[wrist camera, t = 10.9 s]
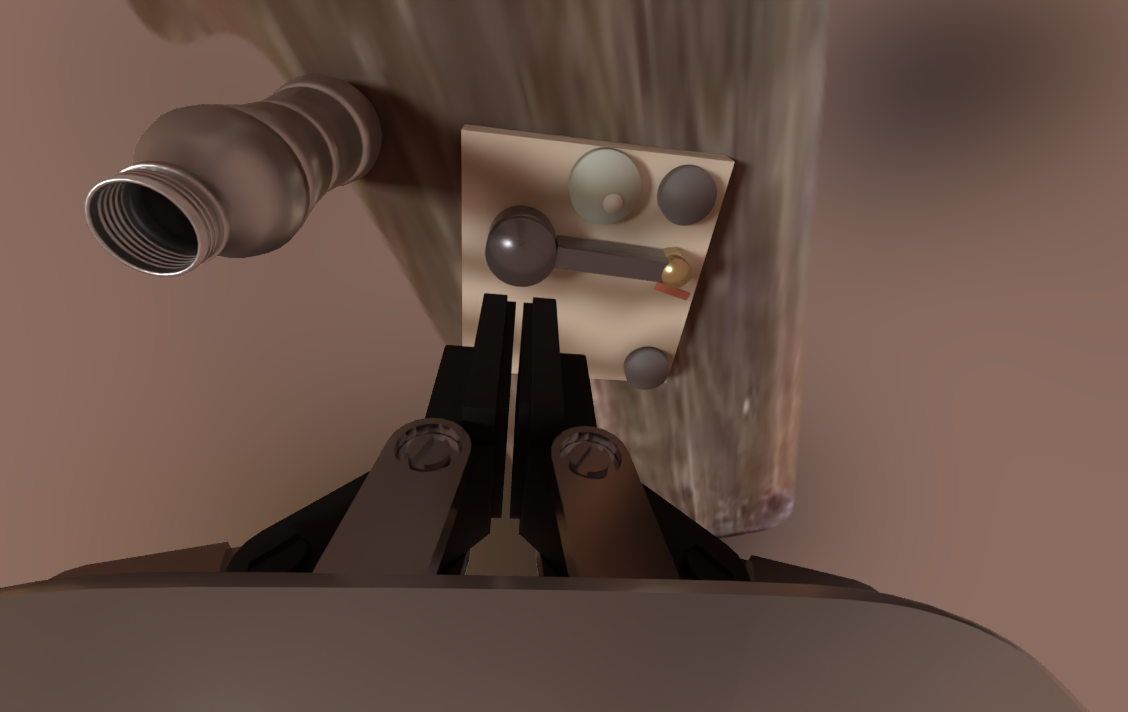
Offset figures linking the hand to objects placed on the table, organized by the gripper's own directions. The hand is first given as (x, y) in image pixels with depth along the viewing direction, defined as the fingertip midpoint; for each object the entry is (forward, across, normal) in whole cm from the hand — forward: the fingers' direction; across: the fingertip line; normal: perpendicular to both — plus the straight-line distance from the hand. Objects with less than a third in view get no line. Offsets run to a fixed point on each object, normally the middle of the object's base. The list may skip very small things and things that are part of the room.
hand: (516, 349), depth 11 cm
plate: (+27, -5, +10) cm, 29 cm away
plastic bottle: (+27, +13, +1) cm, 30 cm away
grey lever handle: (+25, -5, +7) cm, 26 cm away
